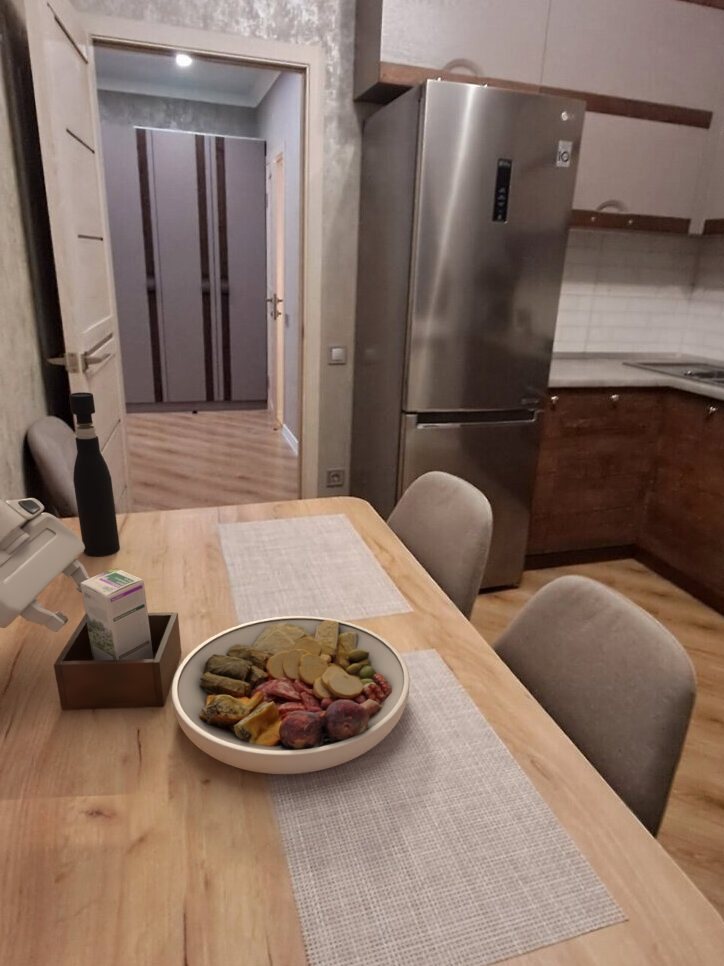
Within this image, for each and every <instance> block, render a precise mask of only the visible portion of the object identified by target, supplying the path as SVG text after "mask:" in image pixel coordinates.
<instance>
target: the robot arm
mask: <svg viewBox="0 0 724 966" xmlns="http://www.w3.org/2000/svg"><path fill="white" fill-rule="evenodd" d="M44 510H45V506H44V505H43V504H42V503H41V502H40V500H38V499H36V498H34V497H28V498H22V499H6V500H3V499H2V498H0V629H6V628H8V627H9V626H10V625H11V624H12V623H13V622H14V621H15V620H16V619H17V618H18V617H19V616H20V617H21V618H23V619H24V620H25V621H27V622H29V623H34V624H39V625H42V626H43V625H44V626H45V627H46V628H48V629H49V630H51V631H52V632H54V633H58V632H59V631H60V630H61V629H62V628H63V627H64V626H65V625H66V623H68V621H69V619H68V616H66V615H64V614H63V613H62V612H61V611H59V610H57V611H56V612H53V611H51V610H48V609H46V608H43V603H41V602H40V601H39V600H38V599H37V598H38V597H39V596H40V595H41V594H42V593H43V592H44V591H45V590H46V589H47V588H48V587H49V586H50V585H51V584H52V583H53V582H54V581H55V580H56V579H57V577H59V576H60V575H61V574H63V575H65V577H67V578H69V577H71V578H72V580H73V582H74V583H75V584H76V585H77V587H76V590H77V591H78V592H79V593H81V594H82V590H81V585H80V584H81V582H84V581H86V580H87V579H89V578H91V577H90V575H89V573H88V572H87V570H86V567H85V566H84V564H83V563H82V562H81V561H79V559H77V558H78V557H79V556H80V555H81V554H82V553H83V552H84V549H85V546H84V544H83V542H82V537H80V536H79V535H78V534H77V533H76V532H75V531H73V529H71V528H70V527H69V526H68V525H66V524H65V523H64V522H63V521H62V520H60V519H59V518H58V517H56V516H55V515H53V514H52V513H49V512H43V511H44Z"/></svg>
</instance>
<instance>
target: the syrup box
mask: <svg viewBox="0 0 724 966" xmlns="http://www.w3.org/2000/svg"><path fill="white" fill-rule="evenodd" d="M80 585H81V590H82V593H81V596H82V602H83V609H84V615H86V621H87V627H88V633H89V639H90V646H91V651H92V657H93V660H135V659H153V651H152V643H151V635H150V627H149V620H148V613H149V612H148V603H147V593H146V588H145V587H146V586H145V579H142V578H140V577H137V576H136V575H133V574H131V573H129V572H126V571H124V570H122V569H119V568H117V567H116V568H113V569H109V570H106V571H104V572H100V573H98V574H96V575H94V576H92V577H90V578H89V579H87V580H86V581H84V582H81V584H80Z"/></svg>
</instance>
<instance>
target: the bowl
mask: <svg viewBox="0 0 724 966" xmlns="http://www.w3.org/2000/svg"><path fill="white" fill-rule="evenodd" d="M410 678H411V677H410V672H409V668H408V665H407V663H406V661H405V659H404V657H403V656H402V654H401V653H400V652H399V651H398V649H397V648H396V647H395V646H394V645H393V644H392V643H390V642H389V641H388V640H387V639H386V638H384V637H383V636H381V635H379V634H377V632H374V631H372V630H370V629H369V628H366V627H364V626H361V625H357V624H356V623H355V624H354V623H352V622H348V621H344V620H340V619H336V618H330V617H324V616H312V615H286V616H285V615H284V616H275V617H269V618H262V619H258V620H251V621H249V622H244V623H242V624H239V625H236V626H233V627H230V628H228V629H225V630H223V631H221V632H219V633H216V634H214V635H213V636H211V637H209V638H207V639H206V640H204V641H203V642H202V643H200V644H199V645H197V646H196V647H194V648H193V649H192V650H191V651H190V652H189V654H187V655H186V656H185V658H183V660H182V661H181V662H180V664H179V665H178V666H177V668H176V671H175V674H174V677H173V680H172V683H171V691H170V693H171V703H172V709H173V712H174V714H175V718H176V720H177V722H178V724H179V726H180V728H181V730H182V732H183V733H184V734H185V735H186V736H187V738H188V739H189V741H191V742H192V743H193V744H194V746H196V747H197V748H199V749H200V750H201V751H202V752H204V753H205V754H207V755H208V756H210V757H211V758H213V759H215V760H217V761H219V762H221V763H224V764H226V765H228V766H232V767H235V768H238V769H241V770H245V771H249V772H255V773H260V774H269V775H270V774H271V775H296V774H297V775H298V774H306V773H313V772H317V771H323V770H327V769H330V768H333V767H337V766H340V765H343V764H345V763H347V762H350V761H352V760H354V759H356V758H358V757H360V756H362V755H364V754H365V753H367V752H368V751H370V750H372V749H373V748H374V747H376V746H377V745H378V744H379V743H380V742H382V741H383V740H384V739H385V738H386V737H387V736H388V735H389V734H390V733H391V732H392V731H393V729H394V728H395V727H396V725H397V724H398V722H400V720H401V718H402V715H403V713H404V711H405V709H406V707H407V703H408V699H409V694H410V681H411V680H410Z"/></svg>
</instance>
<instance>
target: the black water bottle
mask: <svg viewBox="0 0 724 966" xmlns="http://www.w3.org/2000/svg"><path fill="white" fill-rule="evenodd" d="M68 398H69V405H70V413H71V414H72V415H75V417H76V425H77V426H76V427H75V428H76V429H75V432H76V434H75V435H76V437H75V445H76V458H75V461H74V466H73V477H72V478H73V479H72V481H73V488H74V495H75V500H76V507H77V514H78V515H77V516H78V523H79V528H80V529H79V530H80V534H81V540H82V542H83V544H84V546H85V549H84V550H83V553H84V554H85V555H86V556H90V557H106V556H110V555H113V554H115V553H117V552H118V551H119V550H120V548H121V546H120V538H119V537H120V536H119V530H118V522H117V521H118V520H117V514H116V505H115V496H114V489H113V482H112V481H113V479H112V476H111V473H110V470H109V467H108V464H107V462H106V460H105V458H104V456H103V455H102V453H101V447H100V441H99V440H100V439H99V437H98V435H97V432H96V431H97V429H96V427H95V425H94V421H93V416H92V415H93V414H95V413H96V407H95V406H96V405H95V397H94V394H93V393H91V392H83V391H82V392H73V393H70V394H69V395H68Z"/></svg>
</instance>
